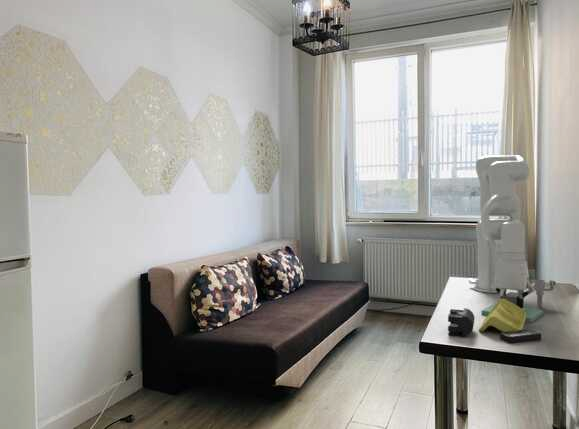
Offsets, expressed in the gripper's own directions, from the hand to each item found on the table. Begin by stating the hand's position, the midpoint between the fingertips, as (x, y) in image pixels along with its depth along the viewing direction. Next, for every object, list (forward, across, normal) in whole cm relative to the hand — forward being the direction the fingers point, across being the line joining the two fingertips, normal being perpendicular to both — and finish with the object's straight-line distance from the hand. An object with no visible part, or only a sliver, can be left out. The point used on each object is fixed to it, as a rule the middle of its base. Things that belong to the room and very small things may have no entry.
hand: (512, 307), depth 154 cm
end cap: (+3, -5, -31) cm, 32 cm away
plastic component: (+3, +3, -17) cm, 18 cm away
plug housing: (+1, 0, +1) cm, 1 cm away
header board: (+3, 0, 0) cm, 3 cm away
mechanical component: (+3, +4, +20) cm, 20 cm away
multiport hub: (+4, +10, -26) cm, 28 cm away
